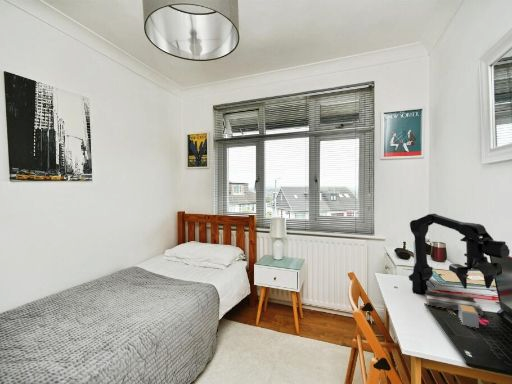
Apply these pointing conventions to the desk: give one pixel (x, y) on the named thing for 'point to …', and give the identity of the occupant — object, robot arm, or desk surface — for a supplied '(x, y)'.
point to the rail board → (450, 300)
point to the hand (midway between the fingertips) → (476, 288)
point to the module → (468, 316)
